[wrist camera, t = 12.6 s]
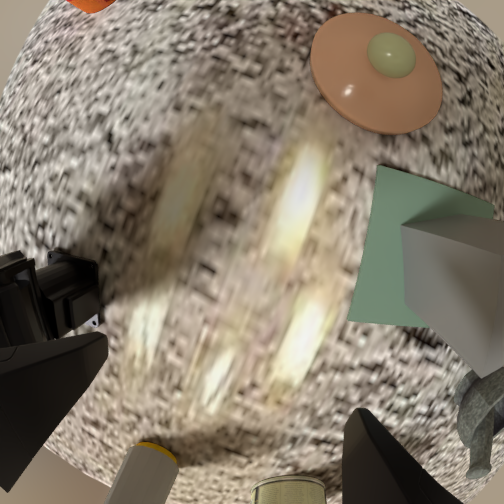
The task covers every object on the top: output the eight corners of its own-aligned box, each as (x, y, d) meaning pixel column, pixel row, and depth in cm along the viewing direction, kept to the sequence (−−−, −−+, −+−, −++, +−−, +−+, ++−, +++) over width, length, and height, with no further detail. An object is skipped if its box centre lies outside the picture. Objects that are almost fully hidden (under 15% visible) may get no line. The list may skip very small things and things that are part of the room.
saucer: (302, 116, 18) (311, 91, 13) (313, 9, 16) (321, -26, 11) (433, 152, 17) (470, 143, 12) (429, 46, 15) (455, 22, 10)
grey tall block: (404, 303, 20) (481, 378, 9) (400, 225, 18) (500, 255, 8) (462, 286, 19) (544, 337, 8) (460, 214, 18) (559, 233, 7)
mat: (346, 318, 21) (348, 320, 20) (377, 165, 18) (379, 165, 18) (462, 327, 20) (464, 329, 20) (491, 204, 17) (494, 205, 17)
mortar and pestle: (498, 334, 20) (560, 385, 8) (502, 378, 21) (547, 427, 9) (424, 396, 22) (469, 474, 10) (437, 431, 23) (471, 494, 11)
